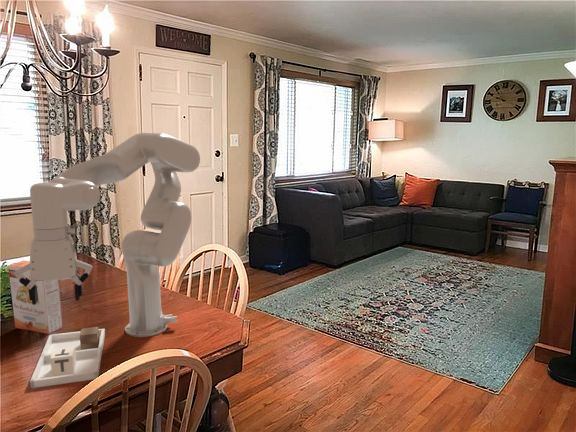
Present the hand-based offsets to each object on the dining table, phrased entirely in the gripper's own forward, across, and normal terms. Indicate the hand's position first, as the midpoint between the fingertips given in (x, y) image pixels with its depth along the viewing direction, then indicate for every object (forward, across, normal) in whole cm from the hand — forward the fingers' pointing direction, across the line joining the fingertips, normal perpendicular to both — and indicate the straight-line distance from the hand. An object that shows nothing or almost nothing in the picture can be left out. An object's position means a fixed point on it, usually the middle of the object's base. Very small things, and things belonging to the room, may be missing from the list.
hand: (56, 300), depth 115 cm
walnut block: (+19, -5, -13) cm, 24 cm away
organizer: (+20, -1, -7) cm, 21 cm away
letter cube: (+19, 0, 0) cm, 19 cm away
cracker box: (+20, +11, -31) cm, 38 cm away
